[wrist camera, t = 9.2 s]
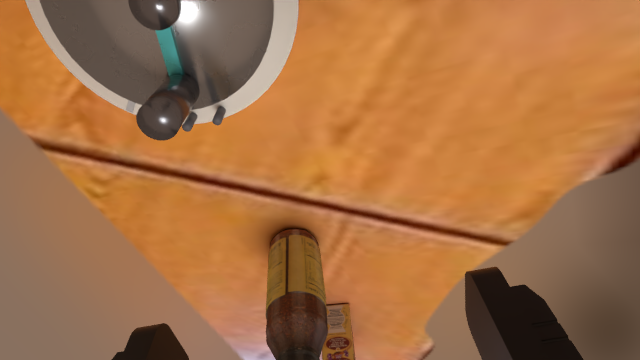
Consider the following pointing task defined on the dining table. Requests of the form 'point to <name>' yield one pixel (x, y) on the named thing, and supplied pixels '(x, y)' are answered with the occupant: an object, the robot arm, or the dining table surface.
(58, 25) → the capstan
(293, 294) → the sauce bottle
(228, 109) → the stand
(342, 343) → the candy box
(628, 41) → the dining table surface
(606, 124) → the dining table surface
